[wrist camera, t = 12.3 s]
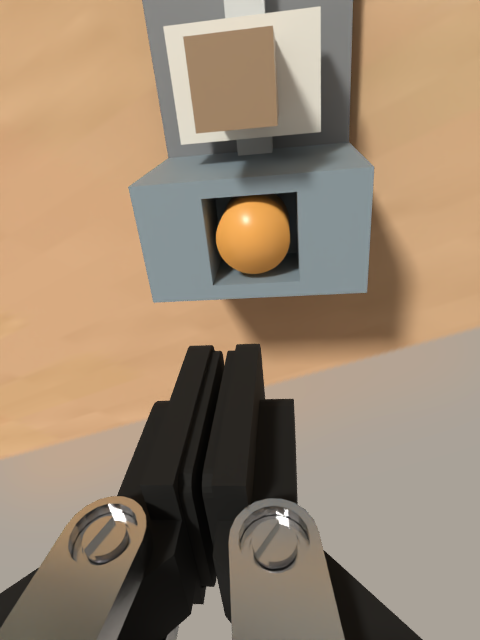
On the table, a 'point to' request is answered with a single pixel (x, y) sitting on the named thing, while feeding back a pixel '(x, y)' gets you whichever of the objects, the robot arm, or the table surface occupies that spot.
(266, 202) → the button
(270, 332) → the table surface
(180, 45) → the carriage
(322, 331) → the table surface
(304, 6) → the rail bed
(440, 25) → the table surface
